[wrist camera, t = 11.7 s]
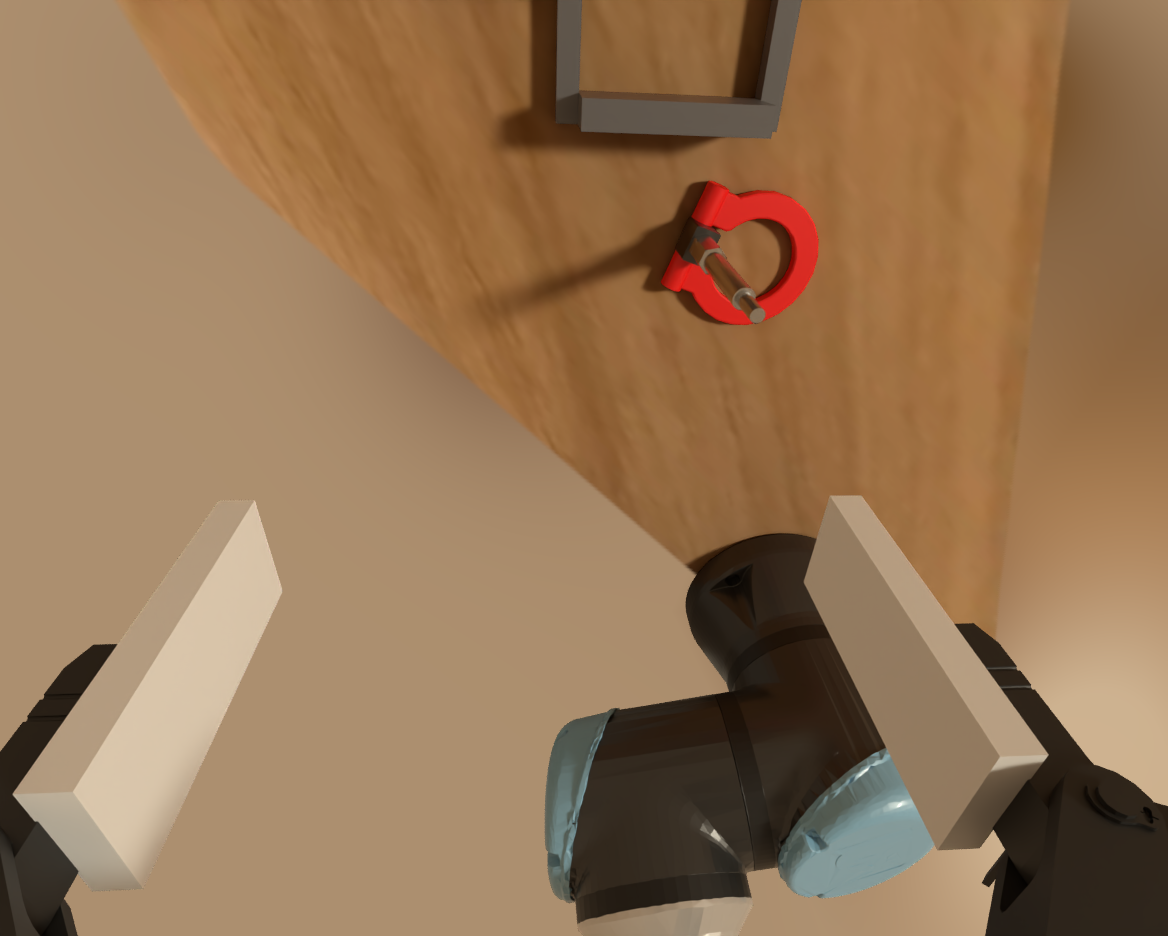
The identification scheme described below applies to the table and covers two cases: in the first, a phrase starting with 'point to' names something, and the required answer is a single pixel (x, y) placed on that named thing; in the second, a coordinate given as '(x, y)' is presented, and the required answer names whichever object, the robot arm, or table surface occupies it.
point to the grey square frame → (675, 110)
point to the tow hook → (707, 262)
